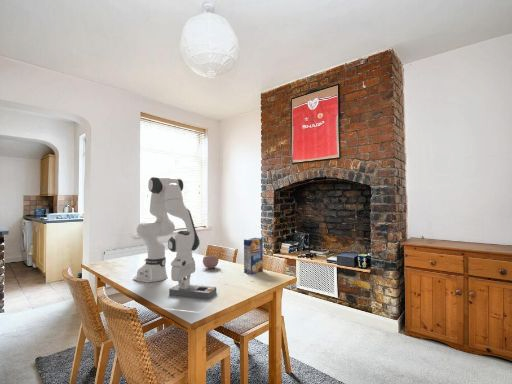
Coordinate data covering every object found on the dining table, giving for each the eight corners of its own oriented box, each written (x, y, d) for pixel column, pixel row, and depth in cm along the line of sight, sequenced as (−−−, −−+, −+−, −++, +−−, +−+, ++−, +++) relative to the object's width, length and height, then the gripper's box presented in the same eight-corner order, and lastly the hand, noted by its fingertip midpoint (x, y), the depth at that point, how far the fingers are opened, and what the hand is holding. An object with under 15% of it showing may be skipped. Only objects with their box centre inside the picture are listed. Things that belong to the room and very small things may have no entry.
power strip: (169, 296, 153) (169, 288, 153) (179, 290, 162) (179, 282, 162) (208, 300, 146) (208, 291, 146) (216, 294, 156) (216, 286, 156)
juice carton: (255, 269, 208) (255, 237, 209) (262, 271, 203) (262, 238, 203) (244, 272, 200) (243, 239, 200) (251, 274, 194) (250, 240, 195)
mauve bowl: (219, 266, 218) (219, 251, 218) (217, 270, 206) (217, 255, 206) (204, 266, 219) (204, 251, 219) (201, 270, 207) (201, 255, 207)
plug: (178, 294, 154) (178, 276, 154) (183, 291, 158) (182, 274, 159) (185, 295, 153) (185, 277, 153) (189, 292, 157) (189, 274, 157)
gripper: (188, 255, 167) (188, 278, 167) (169, 263, 147) (169, 289, 147) (198, 256, 165) (198, 279, 165) (179, 264, 146) (179, 290, 145)
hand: (184, 284), depth 156 cm, fingers open, 5 cm apart
